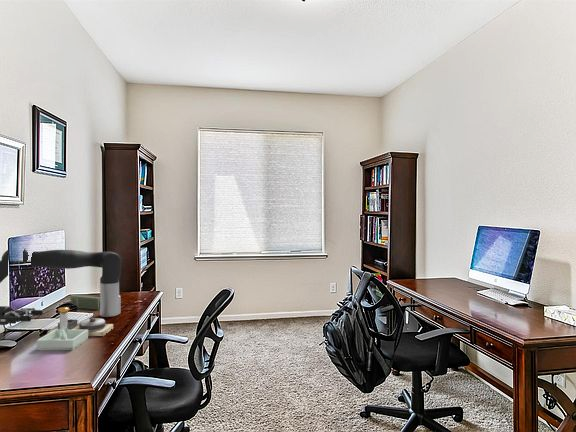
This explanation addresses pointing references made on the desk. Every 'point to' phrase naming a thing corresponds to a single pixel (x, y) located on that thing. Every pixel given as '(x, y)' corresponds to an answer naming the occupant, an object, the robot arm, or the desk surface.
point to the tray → (54, 342)
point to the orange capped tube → (63, 322)
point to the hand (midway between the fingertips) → (36, 315)
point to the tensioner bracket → (88, 326)
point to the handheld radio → (86, 301)
